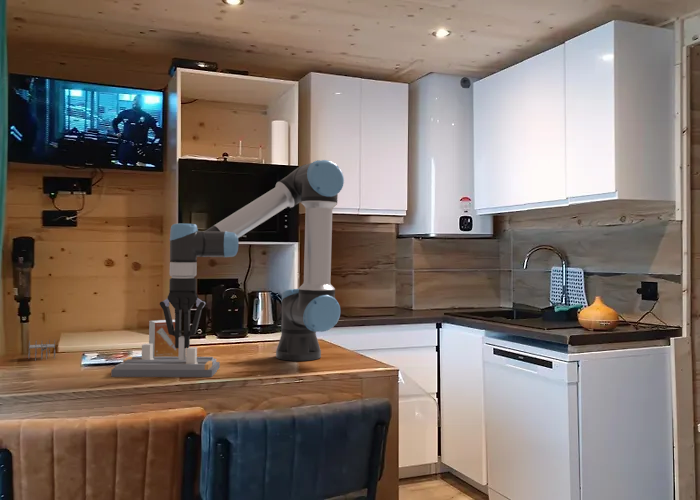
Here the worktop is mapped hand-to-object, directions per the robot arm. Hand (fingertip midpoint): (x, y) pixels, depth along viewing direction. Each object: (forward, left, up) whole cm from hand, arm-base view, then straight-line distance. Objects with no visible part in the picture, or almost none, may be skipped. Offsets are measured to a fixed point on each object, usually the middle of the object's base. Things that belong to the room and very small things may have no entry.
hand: (182, 359), depth 178 cm
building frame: (+51, -26, -5) cm, 58 cm away
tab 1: (+12, -7, -2) cm, 14 cm away
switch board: (+5, -3, -4) cm, 8 cm away
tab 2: (-3, 0, -2) cm, 3 cm away
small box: (+11, -22, -5) cm, 25 cm away
